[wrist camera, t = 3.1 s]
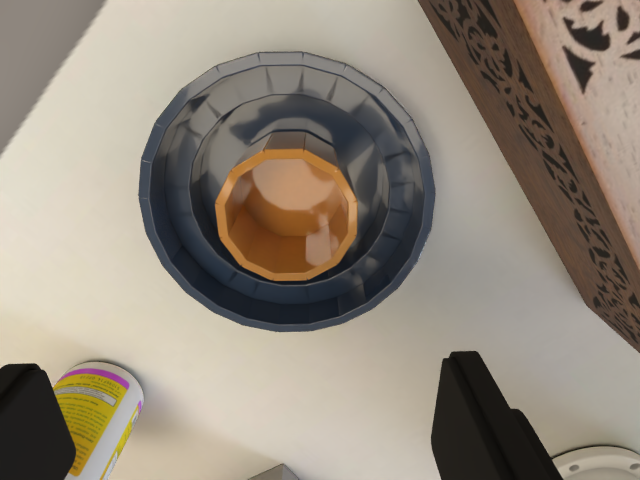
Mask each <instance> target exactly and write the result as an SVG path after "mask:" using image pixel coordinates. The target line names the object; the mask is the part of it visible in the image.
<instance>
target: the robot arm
mask: <svg viewBox="0 0 640 480" xmlns="http://www.w3.org/2000/svg"><path fill="white" fill-rule="evenodd" d="M431 444H432V450H433V454H434V457H435V461H436V464H437V467H438V470H439V473H440V477H441V480H640V455H638V454H636V453H634V452H633V451H630V450H626V449H623V448H617V447H609V446H605V447H590V448H583V449H579V450H575V451H572V452H568V453H566V454H563V455H561V456H558V457H556V458H554V459H551V458H550V456H549V454H548V453H547V451H546V449H545V448H544V446H543V444H542V443H541V441H540V439H539V438H538V436H537V434H536V433H535V431H534V429H533V428H532V426H531V424H530V423H529V421H528V419H527V418H526V417H525V415H524V414H523V413H522V412H521V411H520V410H518V409H510V407H509V405H508V404H507V402H506V400H505V398H504V397H503V395H502V393H501V391H500V389H499V388H498V386H497V384H496V382H495V381H494V379H493V377H492V375H491V374H490V372H489V370H488V368H487V367H486V365H485V363H484V361H483V360H482V358H481V356H480V355H479V353H478V352H476V351H459V352H451V354H450V357H449V358H444V359H443V361H442V367H441V373H440V380H439V387H438V394H437V400H436V407H435V414H434V420H433V427H432V434H431ZM75 457H76V447H75V444H74V442H73V439H72V436H71V434H70V431H69V429H68V426H67V424H66V421H65V419H64V416H63V414H62V411H61V409H60V406H59V403H58V401H57V398H56V396H55V393H54V391H53V388H52V386H51V383H50V381H49V378H48V375H47V373H46V372H45V371H44V370H41V369H40V367H39V366H38V365H37V364H32V363H31V364H8V365H5V366H3V367H2V368H1V369H0V480H64V479H65V478H66V476H67V474H68V472H69V471H70V469H71V467H72V465H73V463H74V461H75Z"/></svg>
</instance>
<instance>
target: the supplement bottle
mask: <svg viewBox="0 0 640 480" xmlns="http://www.w3.org/2000/svg"><path fill="white" fill-rule="evenodd" d="M53 391H54V393H55V396H56V398H57V401H58V403H59V406H60V409H61V411H62V414H63V416H64V419H65V421H66V424H67V426H68V429H69V431H70V434H71V436H72V439H73V442H74V444H75V447H76V457H75V461H74V463H73V465H72V467H71V469H70V471H69V472H68V474H67V476H66V478H65V479H64V480H108V478H109V475H110V473H111V471H112V469H113V467H114V465H115V463H116V461H117V459H118V457H119V455H120V453H121V451H122V449H123V447H124V445H125V443H126V441H127V439H128V437H129V435H130V432H131V430H132V428H133V426H134V424H135V422H136V420H137V418H138V416H139V413H140V411H141V409H142V406H143V400H144V397H143V391H142V388H141V386H140V385H139V383H138V382H137V380H136V379H135V378H134V377H133V376H132V375H131V374H130V373H128V372H127V371H126V370H124V369H122V368H120V367H118V366H115V365H112V364H109V363H103V362H87V363H83V364H80V365H77V366H75V367H73V368H71V369H70V370H68V371H67V372H66V373H65V374H64V375H63V376H62V377H61V379H60V380H59V381H58V382H57V383H56V385H55V386H54V387H53Z"/></svg>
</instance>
